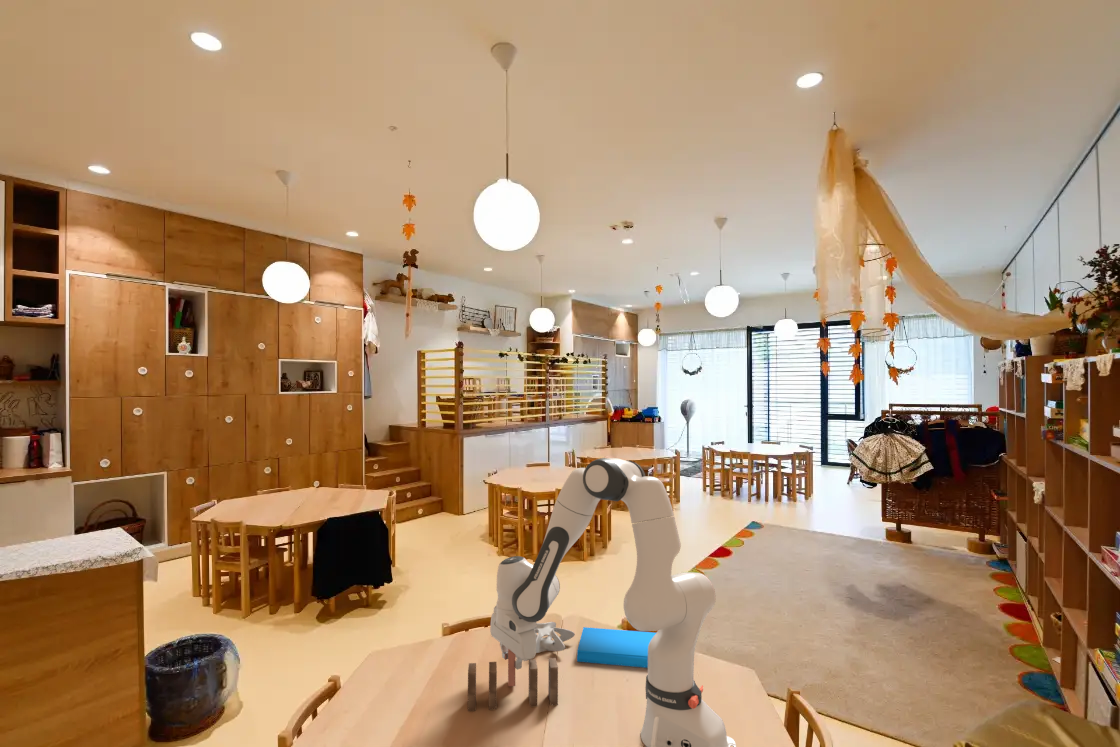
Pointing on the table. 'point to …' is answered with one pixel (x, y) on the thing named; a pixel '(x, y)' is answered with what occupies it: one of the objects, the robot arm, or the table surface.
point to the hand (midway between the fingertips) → (511, 663)
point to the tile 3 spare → (511, 668)
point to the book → (614, 647)
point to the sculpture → (547, 642)
